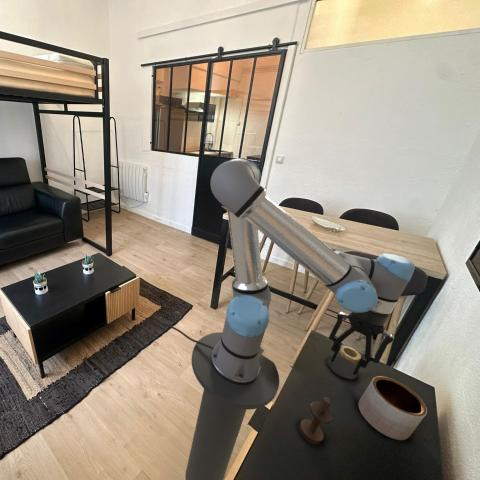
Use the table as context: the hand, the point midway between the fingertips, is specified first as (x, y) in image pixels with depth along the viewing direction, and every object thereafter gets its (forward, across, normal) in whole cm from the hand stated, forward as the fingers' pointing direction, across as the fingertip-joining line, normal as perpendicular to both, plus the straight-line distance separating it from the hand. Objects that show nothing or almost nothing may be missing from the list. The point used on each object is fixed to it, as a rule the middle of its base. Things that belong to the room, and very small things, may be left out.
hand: (343, 365), depth 80 cm
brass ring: (-5, 0, 0) cm, 5 cm away
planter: (+2, +11, -10) cm, 15 cm away
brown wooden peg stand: (+2, -1, -29) cm, 29 cm away
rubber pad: (+2, 0, 0) cm, 2 cm away
